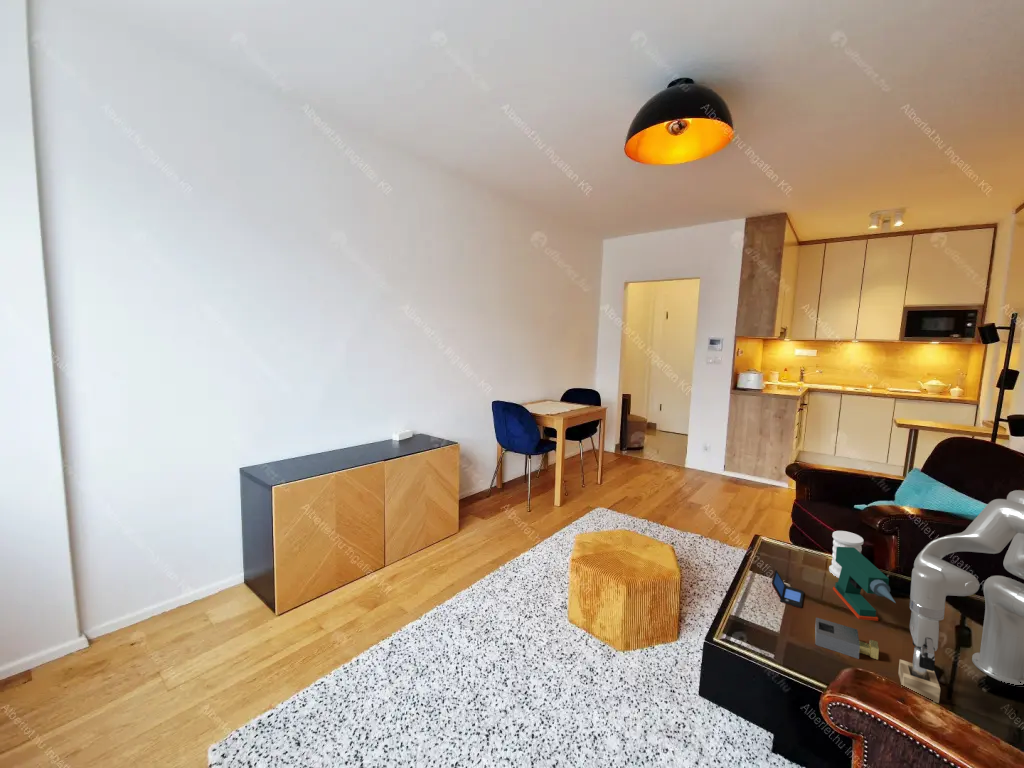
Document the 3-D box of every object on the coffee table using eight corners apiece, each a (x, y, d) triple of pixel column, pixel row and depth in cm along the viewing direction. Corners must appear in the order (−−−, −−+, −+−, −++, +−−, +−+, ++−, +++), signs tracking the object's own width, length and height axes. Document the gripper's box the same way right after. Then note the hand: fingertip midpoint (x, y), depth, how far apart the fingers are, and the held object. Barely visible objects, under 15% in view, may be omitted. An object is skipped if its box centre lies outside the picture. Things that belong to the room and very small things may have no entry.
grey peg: (923, 685, 132) (927, 648, 130) (925, 693, 129) (929, 655, 127) (909, 681, 134) (913, 644, 132) (911, 688, 131) (915, 651, 129)
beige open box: (932, 683, 132) (933, 669, 132) (938, 703, 126) (940, 688, 125) (898, 672, 137) (899, 659, 136) (902, 690, 131) (904, 676, 130)
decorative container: (842, 582, 183) (845, 544, 181) (822, 567, 195) (825, 530, 192) (868, 581, 183) (871, 542, 181) (847, 565, 195) (850, 529, 192)
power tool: (904, 647, 147) (909, 595, 144) (881, 645, 148) (886, 594, 145) (851, 590, 178) (854, 546, 175) (832, 589, 179) (835, 545, 176)
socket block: (856, 642, 150) (857, 629, 150) (858, 658, 143) (859, 645, 142) (815, 629, 157) (815, 617, 157) (815, 644, 150) (816, 632, 149)
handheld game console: (801, 609, 168) (802, 592, 167) (770, 599, 175) (771, 583, 174) (804, 593, 178) (805, 577, 177) (774, 584, 185) (775, 568, 184)
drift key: (876, 651, 145) (877, 641, 145) (877, 659, 142) (878, 649, 142) (833, 638, 152) (833, 628, 152) (833, 645, 149) (834, 635, 148)
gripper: (904, 588, 137) (901, 634, 139) (915, 621, 123) (911, 672, 125) (937, 595, 132) (933, 643, 135) (952, 630, 118) (947, 683, 121)
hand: (922, 657), depth 130 cm, fingers open, 9 cm apart
